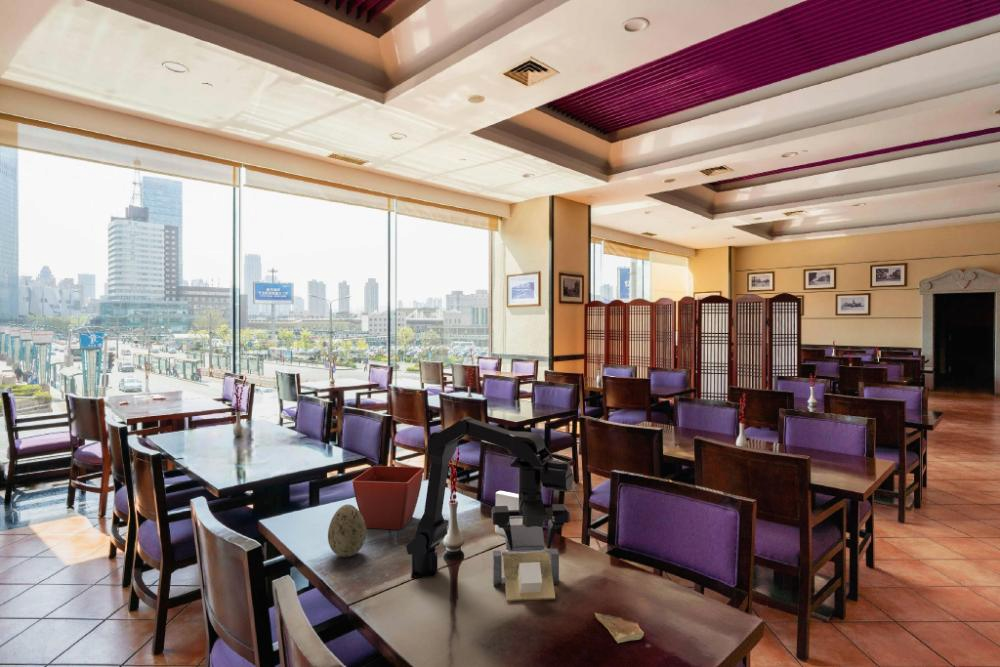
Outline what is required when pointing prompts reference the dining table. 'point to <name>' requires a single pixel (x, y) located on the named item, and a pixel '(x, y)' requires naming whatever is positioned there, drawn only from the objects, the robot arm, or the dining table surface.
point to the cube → (530, 577)
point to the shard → (620, 627)
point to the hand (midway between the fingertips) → (530, 548)
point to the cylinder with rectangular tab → (512, 503)
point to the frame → (501, 581)
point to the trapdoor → (527, 551)
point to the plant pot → (388, 495)
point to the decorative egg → (346, 531)
